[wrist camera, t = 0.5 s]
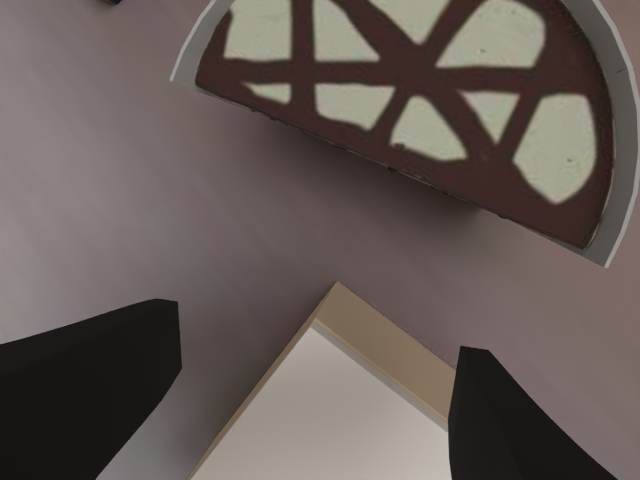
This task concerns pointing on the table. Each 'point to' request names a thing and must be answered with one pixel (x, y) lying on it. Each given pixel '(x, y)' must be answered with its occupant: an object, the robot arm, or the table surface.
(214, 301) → the table surface
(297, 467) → the lid
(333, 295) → the mailer box
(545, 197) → the food container
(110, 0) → the disk drive
